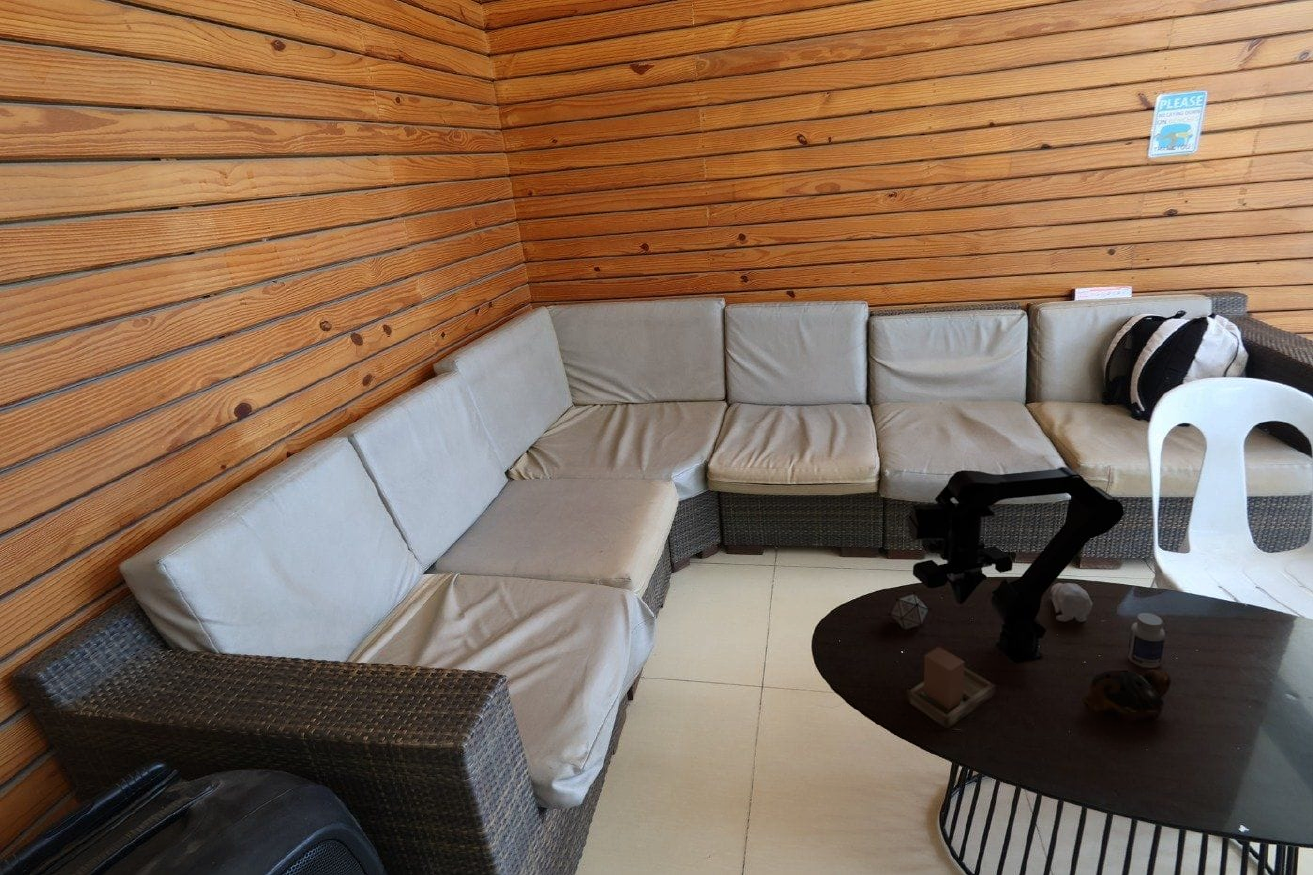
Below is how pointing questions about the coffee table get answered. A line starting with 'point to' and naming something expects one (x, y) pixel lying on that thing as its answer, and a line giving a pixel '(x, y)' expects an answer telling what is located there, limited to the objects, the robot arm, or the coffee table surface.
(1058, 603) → the white bear figurine
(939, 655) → the terracotta block
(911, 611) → the game die
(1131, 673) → the decorative turtle
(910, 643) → the coffee table surface
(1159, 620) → the pill bottle
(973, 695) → the box
